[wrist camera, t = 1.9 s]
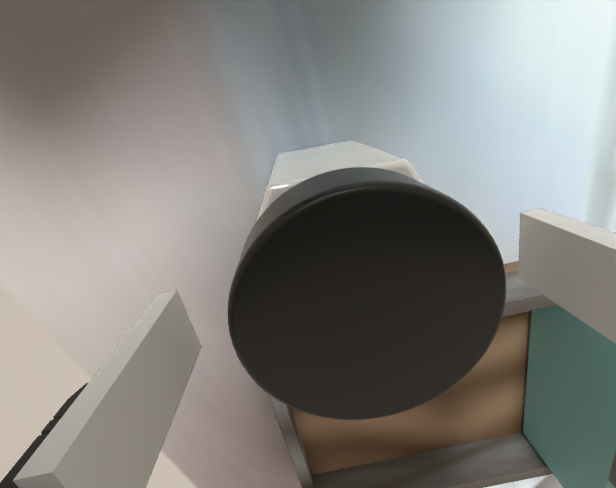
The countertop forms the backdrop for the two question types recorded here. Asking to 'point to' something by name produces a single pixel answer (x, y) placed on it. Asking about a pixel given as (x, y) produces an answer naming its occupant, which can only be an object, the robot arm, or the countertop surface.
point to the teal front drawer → (434, 424)
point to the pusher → (571, 399)
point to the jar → (362, 286)
